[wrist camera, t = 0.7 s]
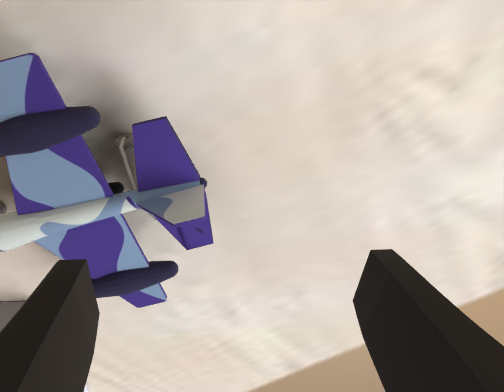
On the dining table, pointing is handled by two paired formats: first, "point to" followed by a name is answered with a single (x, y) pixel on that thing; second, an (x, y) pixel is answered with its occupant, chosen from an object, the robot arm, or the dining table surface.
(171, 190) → the toy airplane
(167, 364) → the dining table surface
